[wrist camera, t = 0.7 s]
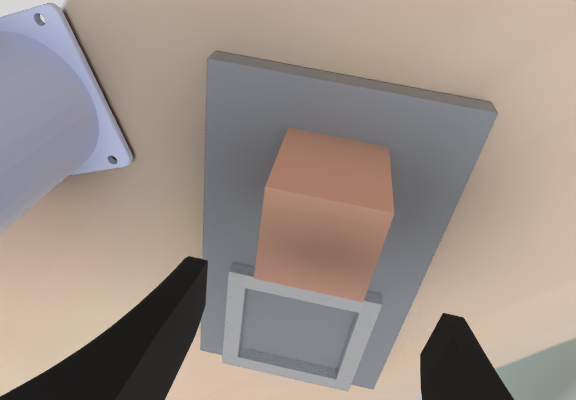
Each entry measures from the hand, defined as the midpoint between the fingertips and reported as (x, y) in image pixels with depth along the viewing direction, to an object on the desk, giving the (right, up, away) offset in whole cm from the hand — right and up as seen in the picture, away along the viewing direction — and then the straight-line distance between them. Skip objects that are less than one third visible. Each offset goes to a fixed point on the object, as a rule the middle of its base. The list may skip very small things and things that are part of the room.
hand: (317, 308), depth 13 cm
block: (+1, +4, +7) cm, 8 cm away
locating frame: (0, -4, +13) cm, 14 cm away
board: (0, +1, +11) cm, 11 cm away
